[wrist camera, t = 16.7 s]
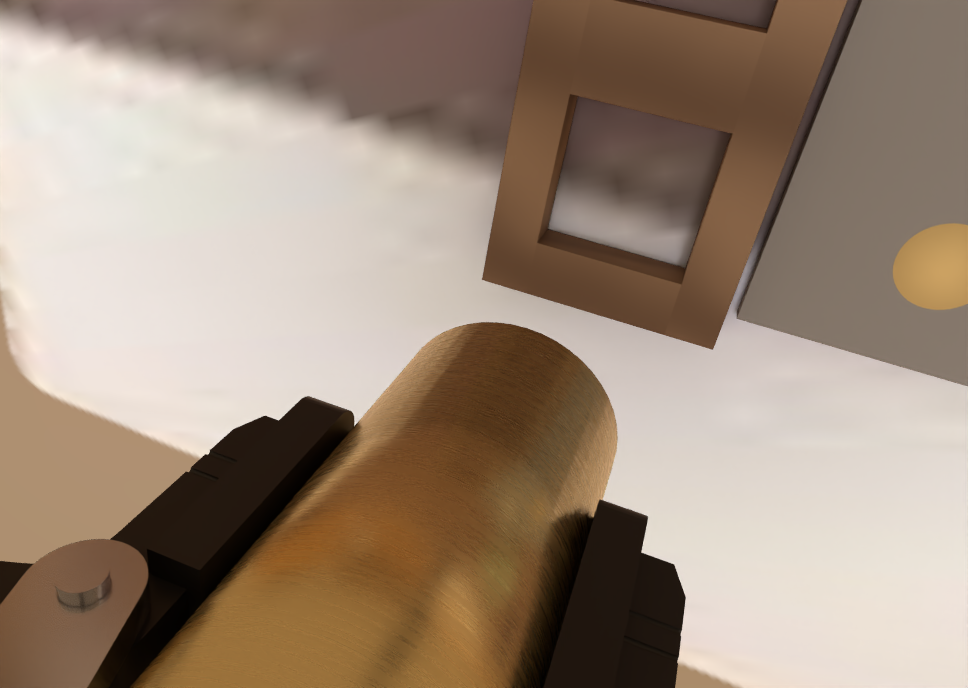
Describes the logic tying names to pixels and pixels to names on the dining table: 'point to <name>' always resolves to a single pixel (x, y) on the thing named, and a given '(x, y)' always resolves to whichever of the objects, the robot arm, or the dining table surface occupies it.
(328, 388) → the dining table surface
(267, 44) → the dining table surface
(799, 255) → the grey mat
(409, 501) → the brass pin
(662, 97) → the walnut frame
